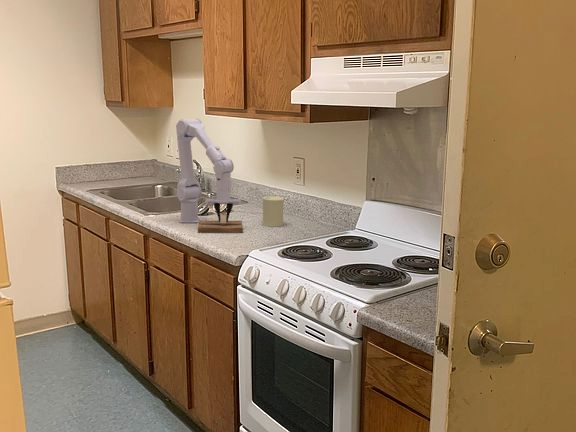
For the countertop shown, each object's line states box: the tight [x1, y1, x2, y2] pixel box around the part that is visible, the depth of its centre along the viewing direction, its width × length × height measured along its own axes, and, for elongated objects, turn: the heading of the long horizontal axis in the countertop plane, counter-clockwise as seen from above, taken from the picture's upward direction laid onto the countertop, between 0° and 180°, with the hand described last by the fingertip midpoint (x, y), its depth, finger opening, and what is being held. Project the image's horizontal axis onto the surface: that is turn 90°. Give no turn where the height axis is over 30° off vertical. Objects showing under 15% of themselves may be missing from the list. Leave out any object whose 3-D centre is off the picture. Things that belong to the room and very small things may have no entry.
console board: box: [197, 220, 244, 234], centre depth 247 cm, size 14×18×2 cm
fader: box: [220, 212, 227, 225], centre depth 246 cm, size 5×2×4 cm, turn 6°
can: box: [261, 196, 285, 228], centre depth 257 cm, size 9×9×12 cm
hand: (223, 221), depth 246 cm, fingers closed on fader, 2 cm apart
